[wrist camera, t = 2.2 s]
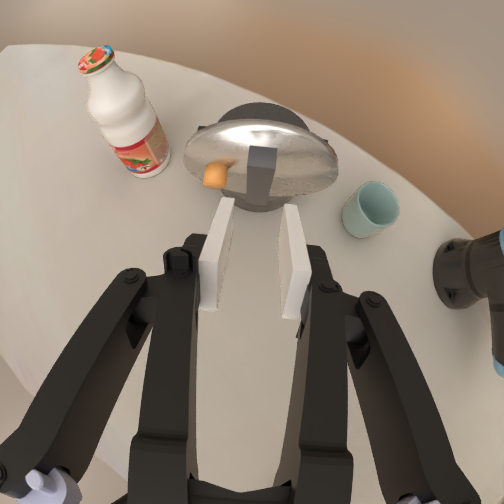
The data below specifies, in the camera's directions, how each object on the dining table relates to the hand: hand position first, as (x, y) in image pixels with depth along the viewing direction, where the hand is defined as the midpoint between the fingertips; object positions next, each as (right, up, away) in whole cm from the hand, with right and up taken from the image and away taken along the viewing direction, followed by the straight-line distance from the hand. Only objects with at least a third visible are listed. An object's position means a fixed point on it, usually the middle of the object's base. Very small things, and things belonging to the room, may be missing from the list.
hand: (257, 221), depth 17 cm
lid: (+1, +8, +11) cm, 14 cm away
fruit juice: (-21, +17, +34) cm, 43 cm away
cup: (+19, +4, +32) cm, 38 cm away
